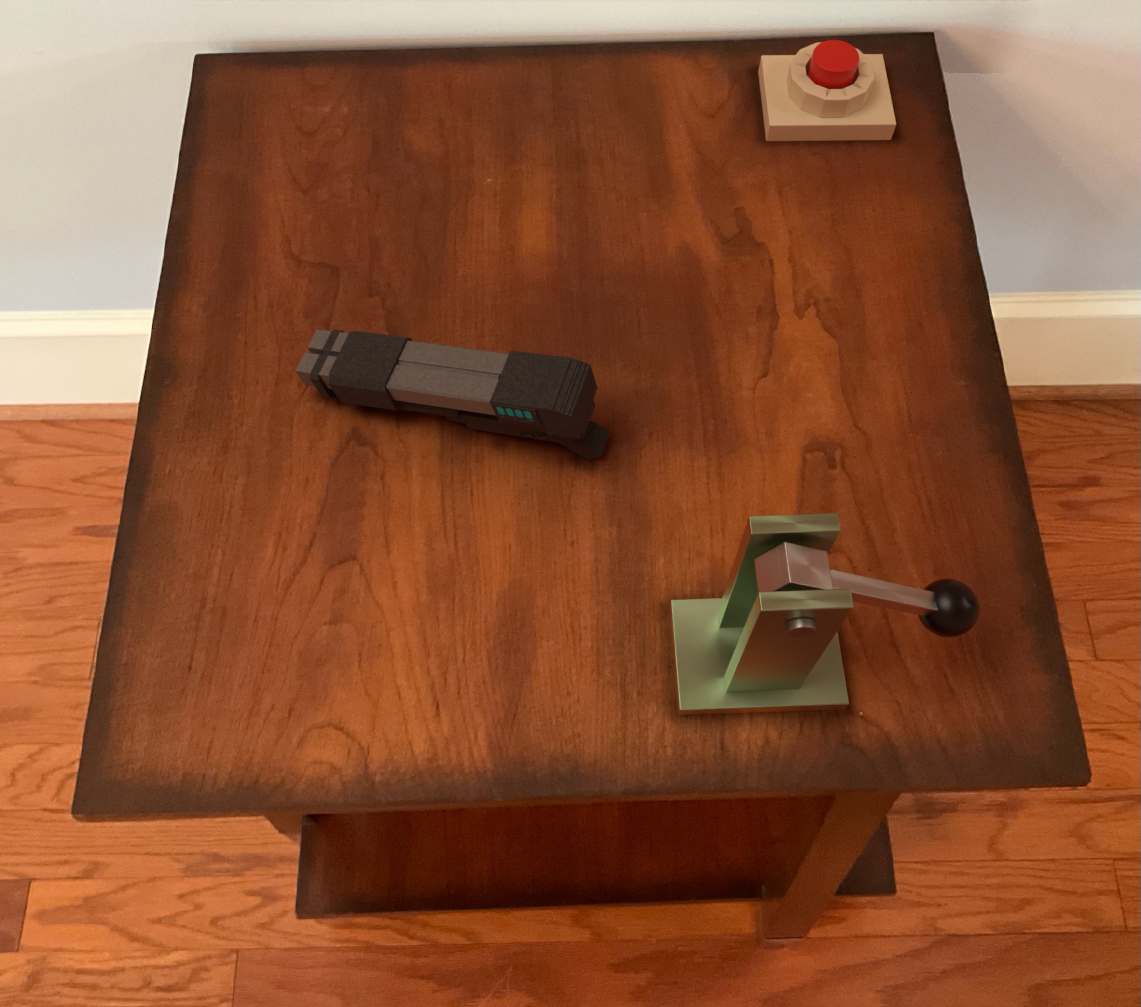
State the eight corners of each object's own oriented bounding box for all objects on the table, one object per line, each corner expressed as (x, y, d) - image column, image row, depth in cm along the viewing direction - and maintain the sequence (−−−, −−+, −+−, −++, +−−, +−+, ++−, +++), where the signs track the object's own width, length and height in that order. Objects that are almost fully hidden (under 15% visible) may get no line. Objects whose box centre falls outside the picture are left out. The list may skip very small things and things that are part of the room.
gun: (604, 479, 67) (552, 388, 59) (363, 457, 76) (289, 376, 68) (623, 423, 69) (574, 328, 61) (386, 408, 78) (316, 324, 70)
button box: (877, 70, 85) (888, 34, 81) (891, 140, 81) (903, 105, 78) (758, 71, 85) (764, 35, 82) (766, 141, 81) (773, 106, 78)
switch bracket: (827, 600, 64) (891, 492, 50) (845, 709, 60) (917, 625, 47) (668, 605, 63) (690, 499, 50) (677, 715, 60) (703, 633, 47)
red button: (851, 57, 81) (856, 39, 79) (856, 89, 79) (862, 71, 78) (806, 58, 81) (810, 39, 79) (810, 90, 79) (815, 71, 78)
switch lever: (939, 595, 58) (984, 575, 56) (950, 648, 57) (997, 630, 54) (747, 552, 52) (788, 528, 49) (754, 611, 50) (797, 589, 48)
